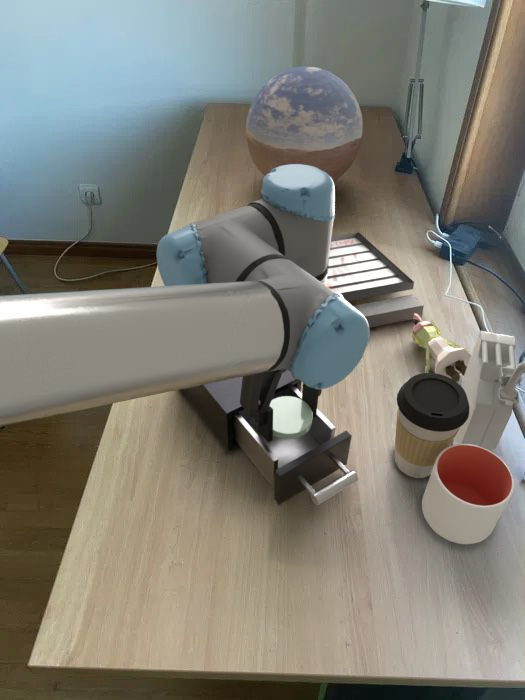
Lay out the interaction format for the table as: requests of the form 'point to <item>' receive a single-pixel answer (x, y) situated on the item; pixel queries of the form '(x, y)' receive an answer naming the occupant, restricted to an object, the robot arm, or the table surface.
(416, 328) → the figurine
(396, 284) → the shutter
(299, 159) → the sphere
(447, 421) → the coffee cup
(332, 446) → the drawer
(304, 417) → the plate
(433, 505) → the cup
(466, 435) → the jerry can
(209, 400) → the cabinet
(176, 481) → the table surface
